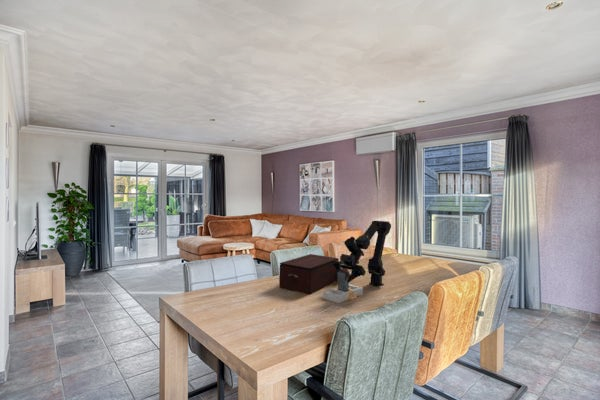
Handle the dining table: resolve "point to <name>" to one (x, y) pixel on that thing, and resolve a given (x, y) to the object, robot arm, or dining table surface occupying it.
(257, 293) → the dining table surface
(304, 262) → the storage box
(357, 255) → the robot arm
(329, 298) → the frame
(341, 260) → the brown carved statuette
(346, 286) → the graphite panel
